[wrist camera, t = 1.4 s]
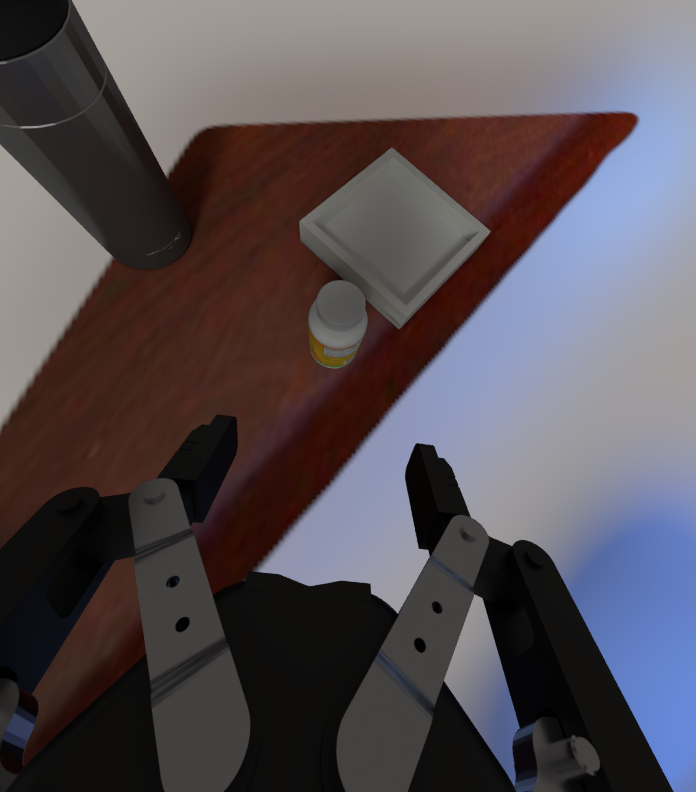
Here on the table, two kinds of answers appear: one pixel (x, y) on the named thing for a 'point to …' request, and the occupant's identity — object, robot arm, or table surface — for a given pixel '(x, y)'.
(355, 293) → the supplement bottle
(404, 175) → the tray
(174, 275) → the table surface
